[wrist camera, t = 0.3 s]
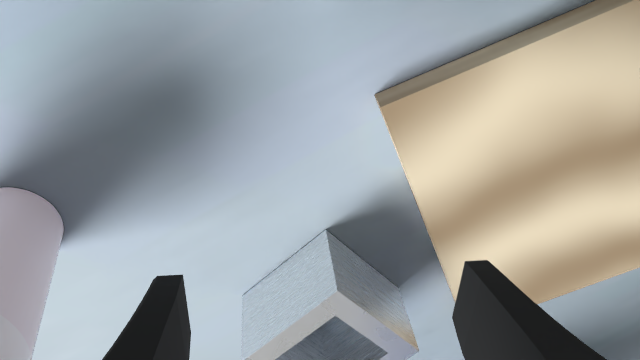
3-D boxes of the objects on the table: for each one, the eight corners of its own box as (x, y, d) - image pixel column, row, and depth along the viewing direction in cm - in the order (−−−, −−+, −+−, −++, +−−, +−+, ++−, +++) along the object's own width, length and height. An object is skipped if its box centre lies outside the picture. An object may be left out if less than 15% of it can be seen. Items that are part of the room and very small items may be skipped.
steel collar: (398, 288, 27) (419, 351, 24) (318, 345, 29) (327, 411, 26) (325, 229, 25) (337, 290, 22) (242, 295, 27) (241, 362, 23)
